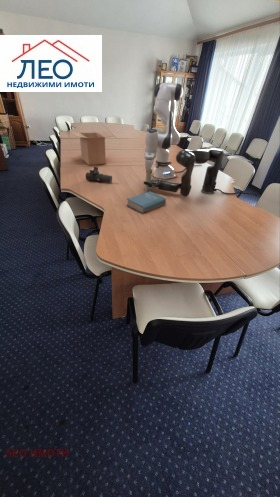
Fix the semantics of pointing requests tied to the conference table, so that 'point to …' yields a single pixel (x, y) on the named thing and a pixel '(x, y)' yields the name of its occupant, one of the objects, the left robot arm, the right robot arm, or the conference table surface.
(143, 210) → the book
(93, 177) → the laser sight
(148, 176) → the jar
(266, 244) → the conference table surface
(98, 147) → the box
